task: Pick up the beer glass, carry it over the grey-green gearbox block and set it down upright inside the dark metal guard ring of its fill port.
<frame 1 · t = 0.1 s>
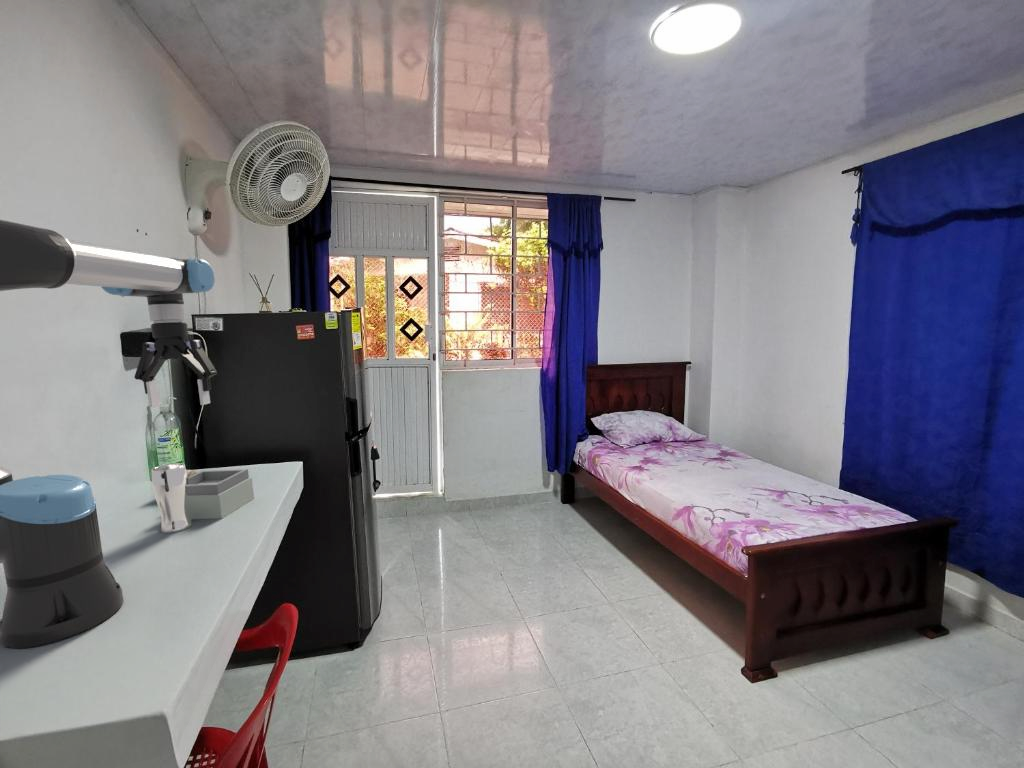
hand: (180, 405, 128), 28 cm above the counter, fingers open, 13 cm apart
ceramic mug: (183, 494, 145), on the counter
beer glass: (176, 528, 119), on the counter
gearbox: (213, 508, 131), on the counter
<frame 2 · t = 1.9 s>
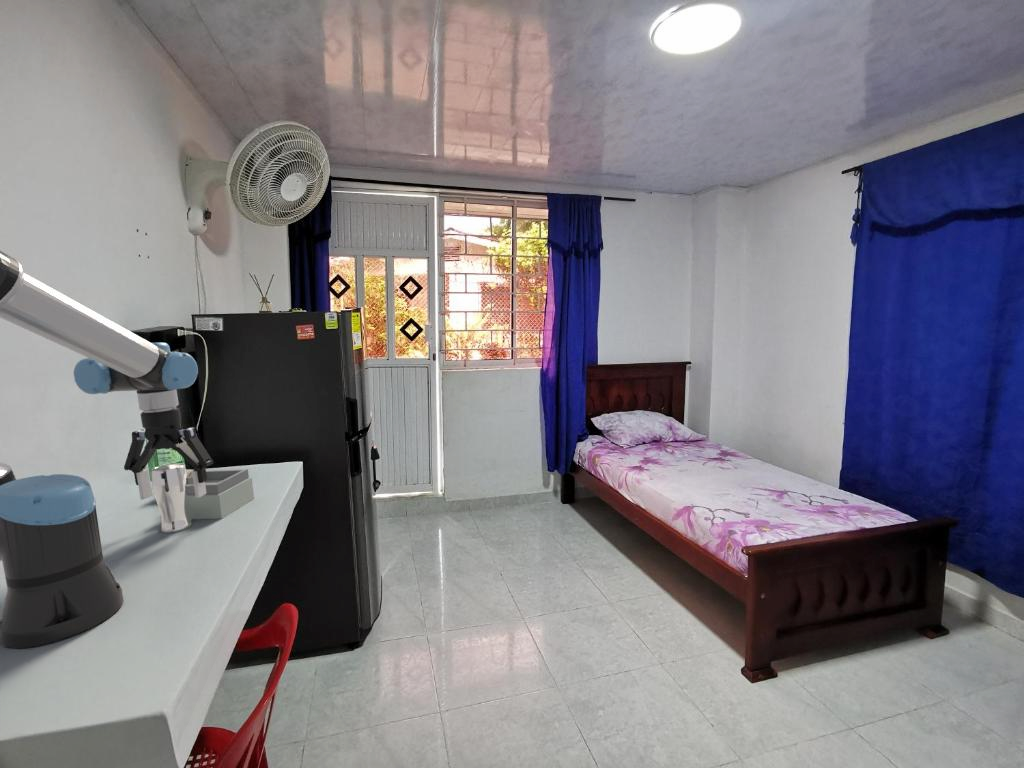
hand: (173, 496, 118), 8 cm above the counter, fingers open, 13 cm apart
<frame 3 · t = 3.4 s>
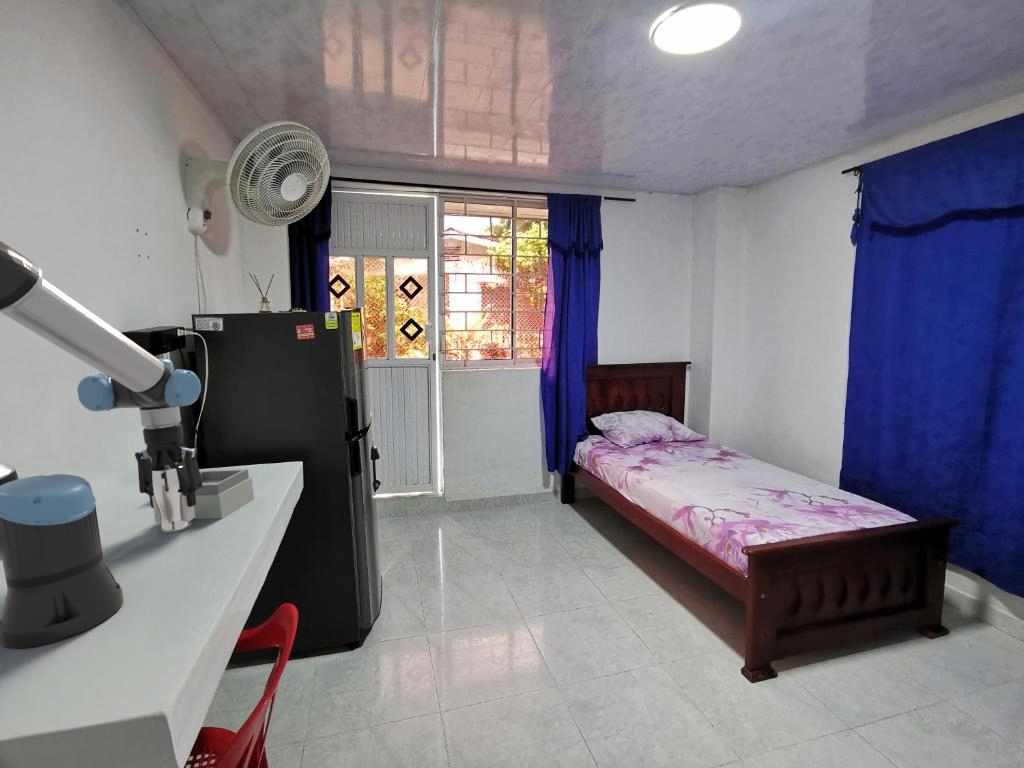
hand: (175, 519, 119), 2 cm above the counter, fingers closed on beer glass, 6 cm apart
beer glass: (176, 528, 119), on the counter, touching gripper
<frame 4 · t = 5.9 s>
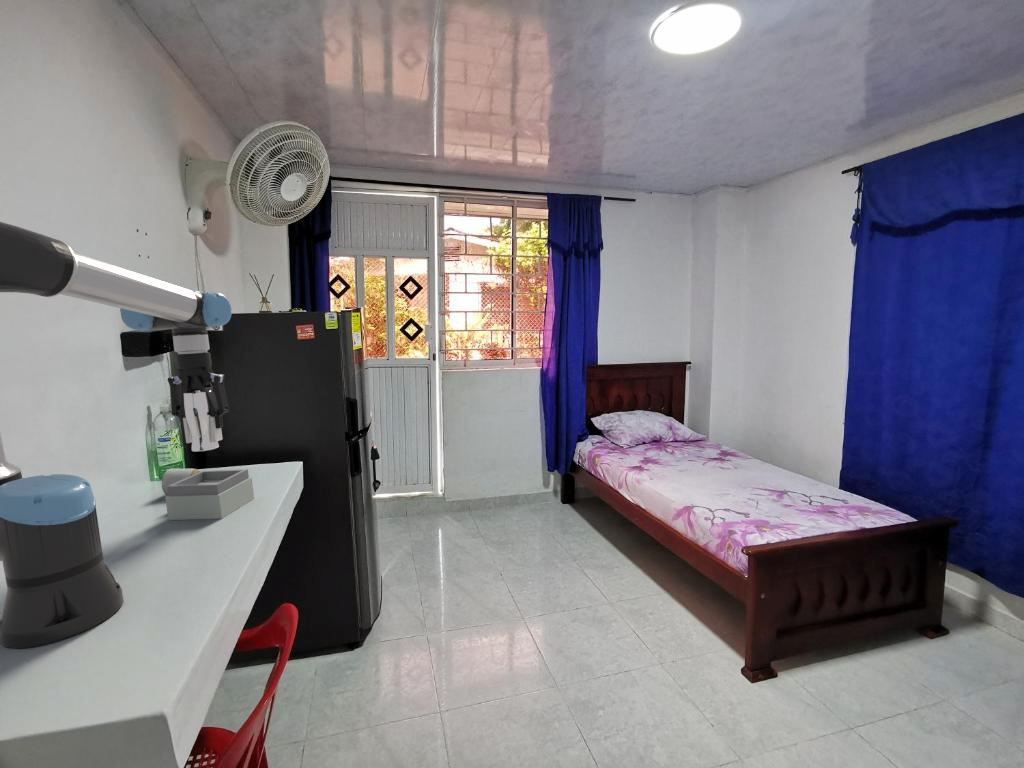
hand: (204, 441, 129), 18 cm above the counter, fingers closed on beer glass, 6 cm apart
beer glass: (205, 449, 129), point 16 cm above the counter, touching gripper
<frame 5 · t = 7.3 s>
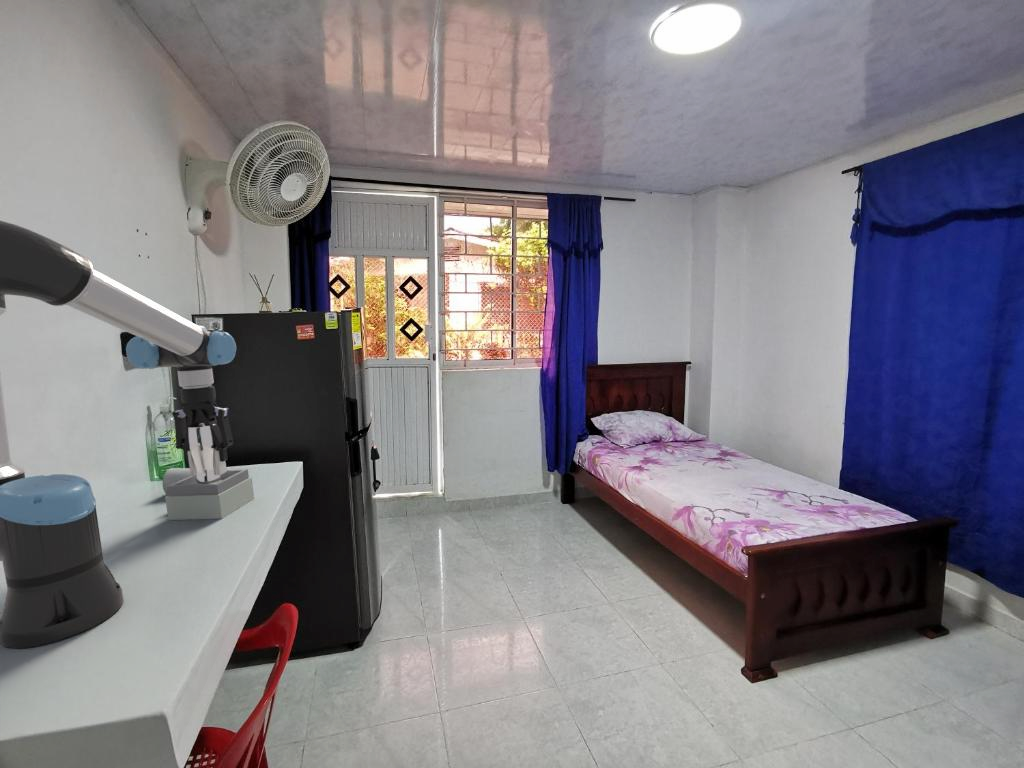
hand: (208, 473, 130), 9 cm above the counter, fingers closed on beer glass, 6 cm apart
beer glass: (209, 481, 130), point 7 cm above the counter, touching gripper
when the fingers open (9 cm above the counter, at t = 8.2 s): beer glass moves 2 cm, resting on gearbox.
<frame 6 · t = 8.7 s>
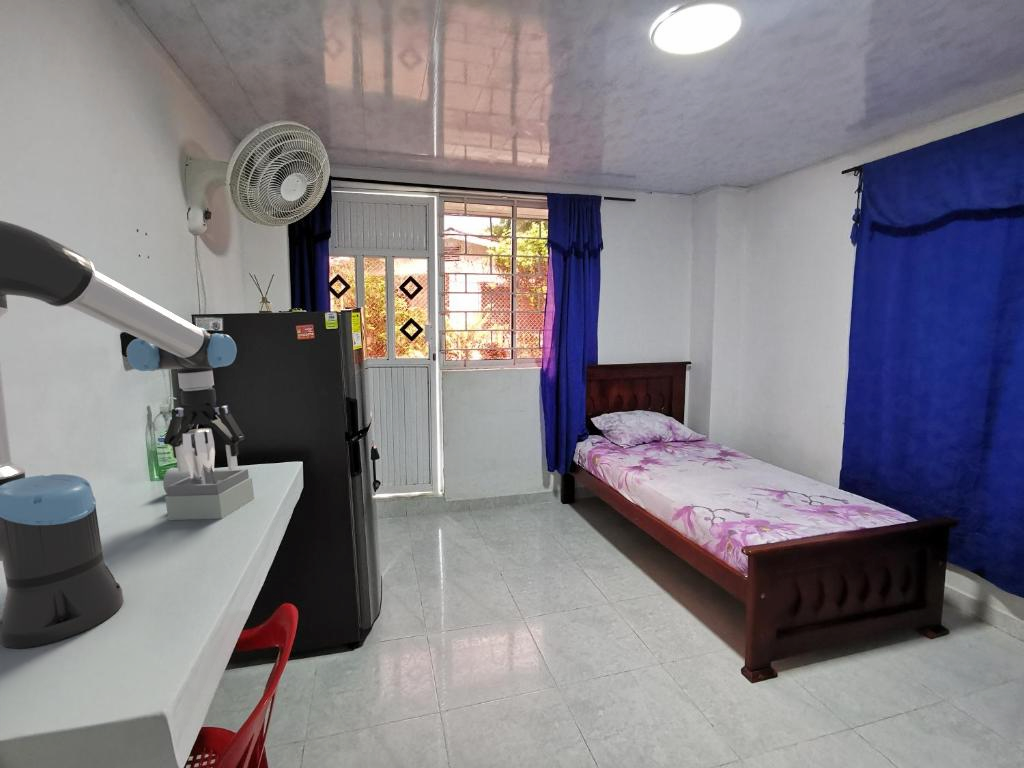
hand: (208, 469, 129), 11 cm above the counter, fingers open, 13 cm apart
beer glass: (204, 487, 130), point 6 cm above the counter, touching gearbox
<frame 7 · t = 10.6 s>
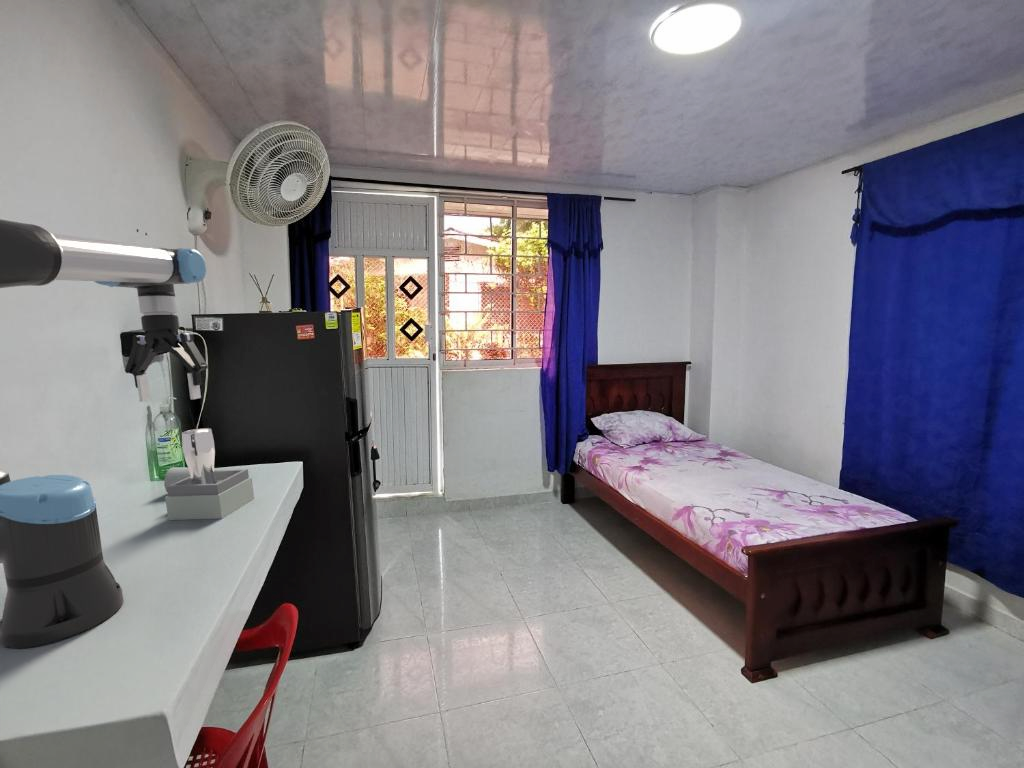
hand: (170, 399, 125), 30 cm above the counter, fingers open, 13 cm apart
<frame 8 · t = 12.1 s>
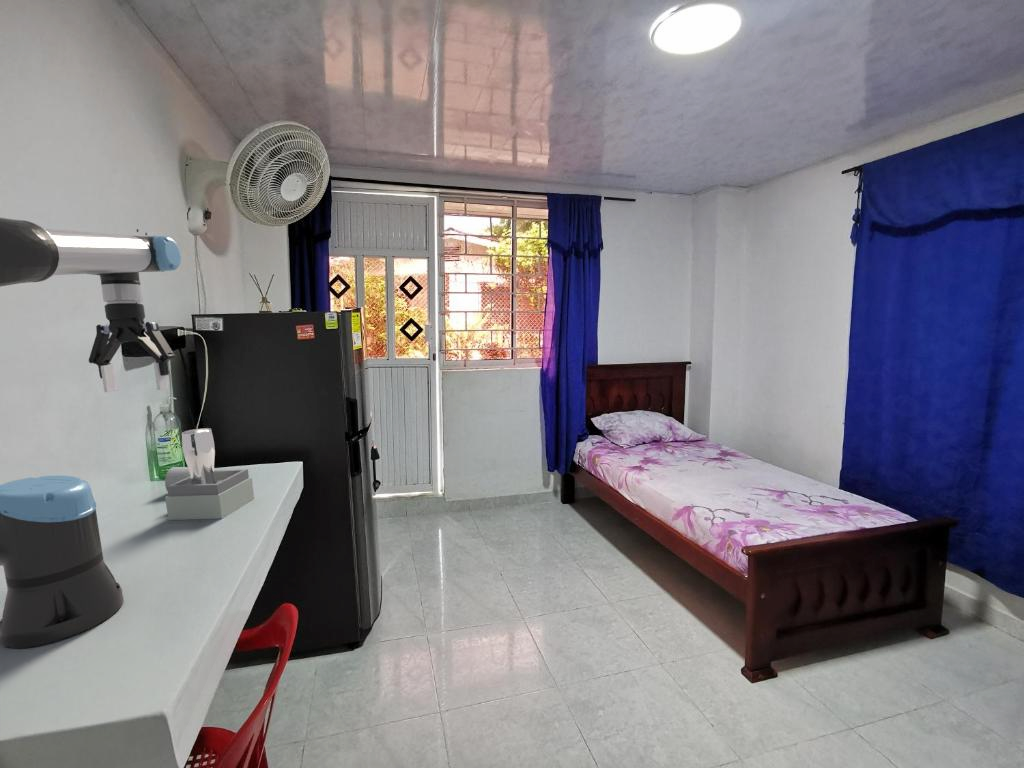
hand: (136, 390, 123), 33 cm above the counter, fingers open, 13 cm apart
at the end: beer glass inside the target area on the gearbox (1.6 cm from its centre), point 5.8 cm above the gearbox's base; beer glass tilted 0°; the gripper is holding nothing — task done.
